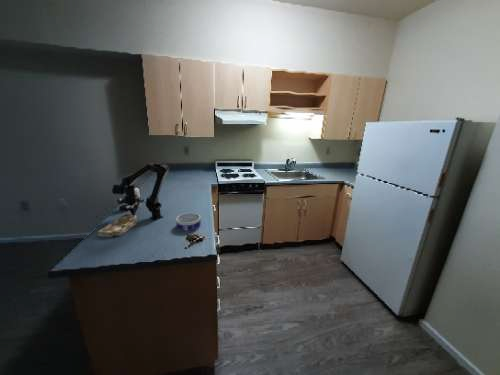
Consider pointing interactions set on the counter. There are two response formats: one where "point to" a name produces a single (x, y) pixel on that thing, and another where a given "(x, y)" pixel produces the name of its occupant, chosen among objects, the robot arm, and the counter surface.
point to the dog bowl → (188, 221)
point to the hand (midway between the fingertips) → (133, 215)
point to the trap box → (117, 228)
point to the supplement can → (137, 196)
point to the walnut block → (125, 218)
